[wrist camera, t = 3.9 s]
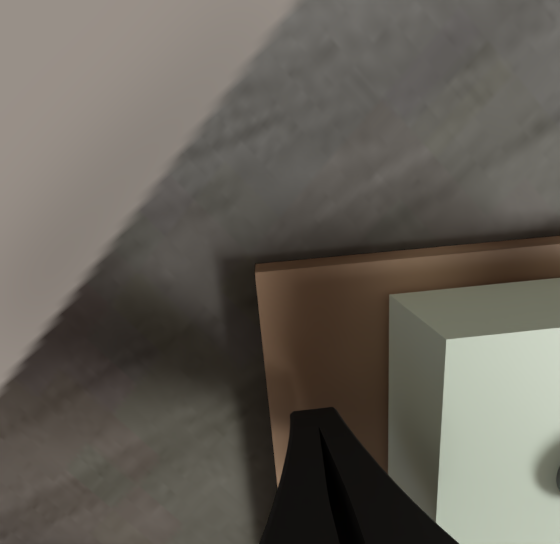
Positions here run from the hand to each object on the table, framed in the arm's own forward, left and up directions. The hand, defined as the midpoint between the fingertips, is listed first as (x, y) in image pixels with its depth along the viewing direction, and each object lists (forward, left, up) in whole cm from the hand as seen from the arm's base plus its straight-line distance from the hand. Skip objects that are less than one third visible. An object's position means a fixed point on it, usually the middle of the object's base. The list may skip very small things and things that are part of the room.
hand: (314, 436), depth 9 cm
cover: (+7, 0, -1) cm, 7 cm away
